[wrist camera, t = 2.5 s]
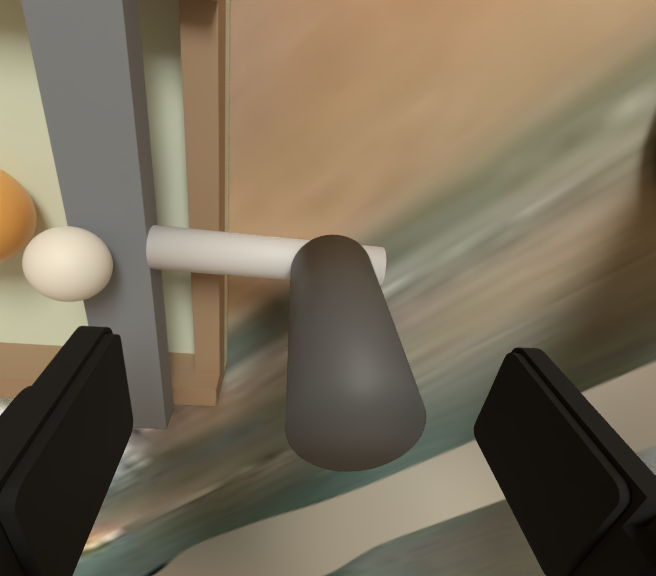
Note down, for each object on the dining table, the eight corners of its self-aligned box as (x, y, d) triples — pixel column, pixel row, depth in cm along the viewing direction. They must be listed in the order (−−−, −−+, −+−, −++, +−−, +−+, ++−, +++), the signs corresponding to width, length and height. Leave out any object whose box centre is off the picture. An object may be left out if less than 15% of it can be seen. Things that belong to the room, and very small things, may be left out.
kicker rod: (416, -4, 13) (686, -151, 4) (339, 383, 22) (369, 614, 13) (51, -71, 12) (-823, -538, 3) (123, 371, 21) (-18, 623, 11)
